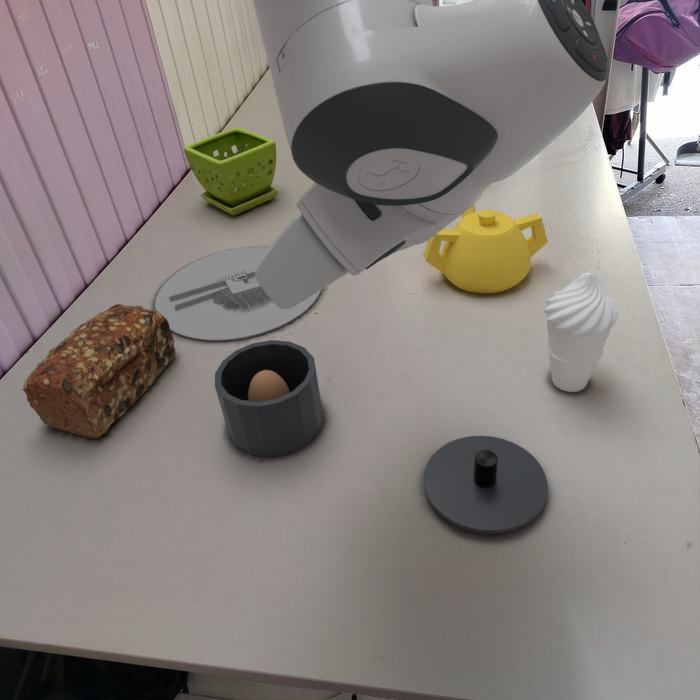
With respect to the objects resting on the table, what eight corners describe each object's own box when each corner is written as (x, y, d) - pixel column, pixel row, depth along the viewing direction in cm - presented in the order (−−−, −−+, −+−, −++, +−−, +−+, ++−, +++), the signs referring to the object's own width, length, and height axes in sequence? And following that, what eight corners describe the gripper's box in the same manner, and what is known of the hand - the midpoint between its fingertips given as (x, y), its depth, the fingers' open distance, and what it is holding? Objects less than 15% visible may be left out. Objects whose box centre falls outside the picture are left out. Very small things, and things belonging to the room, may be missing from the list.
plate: (292, 234, 120) (291, 228, 120) (348, 307, 100) (347, 301, 99) (144, 274, 113) (142, 268, 113) (171, 362, 93) (169, 355, 92)
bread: (102, 445, 80) (74, 386, 74) (38, 427, 84) (6, 370, 78) (183, 355, 94) (165, 299, 87) (125, 344, 97) (104, 289, 91)
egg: (299, 408, 82) (290, 360, 77) (288, 437, 78) (277, 389, 73) (261, 404, 83) (250, 357, 78) (248, 433, 79) (235, 385, 74)
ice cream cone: (583, 413, 77) (604, 304, 67) (523, 385, 82) (534, 280, 72) (614, 376, 82) (638, 270, 72) (555, 353, 87) (569, 250, 77)
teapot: (517, 233, 113) (522, 174, 107) (561, 286, 99) (570, 222, 92) (408, 251, 112) (406, 192, 105) (437, 308, 97) (436, 244, 91)
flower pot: (195, 204, 135) (180, 146, 127) (248, 182, 142) (237, 125, 134) (232, 223, 126) (218, 162, 118) (287, 199, 133) (277, 139, 125)
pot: (328, 447, 77) (320, 395, 71) (229, 465, 76) (214, 413, 71) (317, 383, 86) (309, 333, 81) (229, 398, 85) (215, 349, 80)
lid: (567, 524, 65) (572, 495, 62) (442, 548, 64) (442, 519, 61) (520, 434, 76) (523, 405, 73) (411, 453, 75) (410, 425, 72)
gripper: (451, 101, 52) (364, 191, 63) (287, 201, 40) (214, 290, 51) (498, 163, 52) (403, 241, 63) (350, 280, 40) (264, 351, 51)
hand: (318, 263), depth 57 cm, fingers open, 8 cm apart
